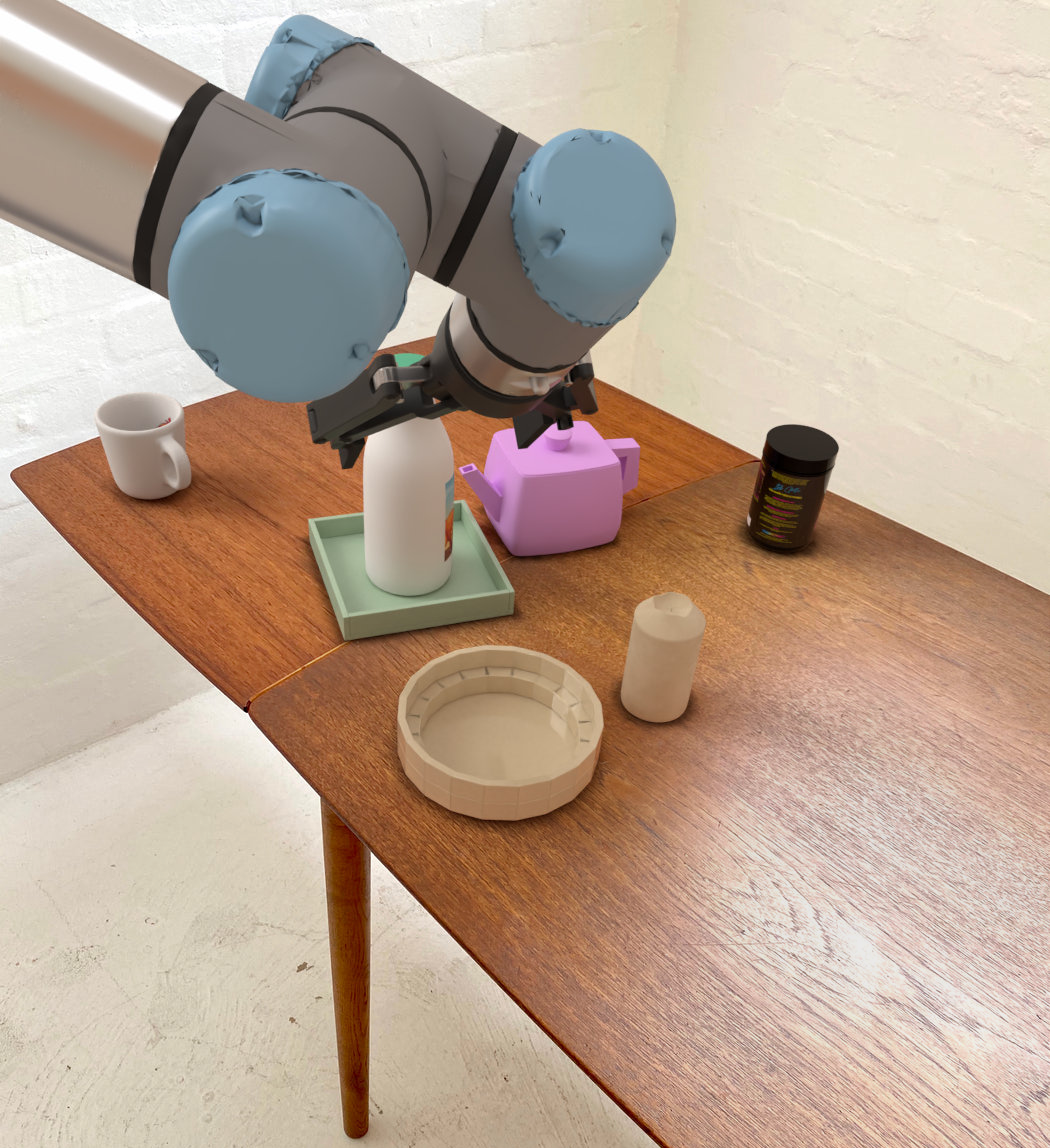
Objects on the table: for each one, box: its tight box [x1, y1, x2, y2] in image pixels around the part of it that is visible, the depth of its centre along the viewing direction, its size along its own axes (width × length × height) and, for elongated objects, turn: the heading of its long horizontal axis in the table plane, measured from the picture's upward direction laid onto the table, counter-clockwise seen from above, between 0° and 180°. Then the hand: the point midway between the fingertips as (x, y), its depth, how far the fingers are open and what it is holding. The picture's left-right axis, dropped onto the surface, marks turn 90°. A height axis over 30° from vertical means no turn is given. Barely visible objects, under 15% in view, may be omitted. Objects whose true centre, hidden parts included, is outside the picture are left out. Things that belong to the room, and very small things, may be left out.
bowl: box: [396, 644, 605, 821], centre depth 84 cm, size 15×15×4 cm
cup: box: [94, 391, 192, 500], centre depth 105 cm, size 11×8×8 cm
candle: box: [620, 591, 707, 723], centre depth 87 cm, size 6×6×10 cm
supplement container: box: [745, 423, 840, 554], centre depth 106 cm, size 7×7×10 cm
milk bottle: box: [362, 352, 455, 596], centre depth 93 cm, size 8×8×20 cm
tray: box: [307, 499, 516, 642], centre depth 99 cm, size 15×15×2 cm
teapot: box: [458, 420, 641, 557], centre depth 105 cm, size 18×10×10 cm, turn 111°
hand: (433, 441), depth 83 cm, fingers open, 13 cm apart
